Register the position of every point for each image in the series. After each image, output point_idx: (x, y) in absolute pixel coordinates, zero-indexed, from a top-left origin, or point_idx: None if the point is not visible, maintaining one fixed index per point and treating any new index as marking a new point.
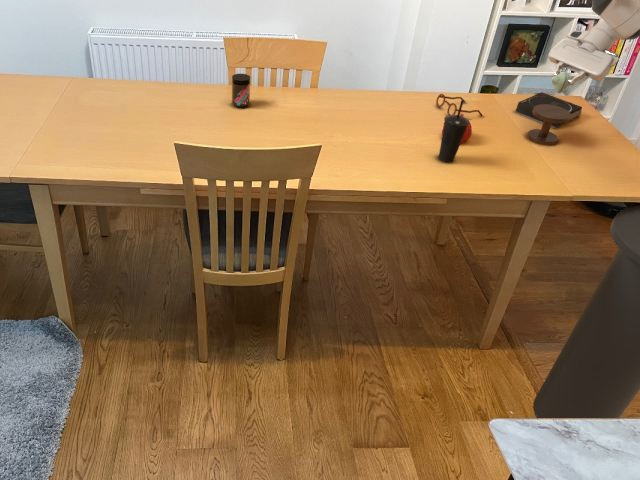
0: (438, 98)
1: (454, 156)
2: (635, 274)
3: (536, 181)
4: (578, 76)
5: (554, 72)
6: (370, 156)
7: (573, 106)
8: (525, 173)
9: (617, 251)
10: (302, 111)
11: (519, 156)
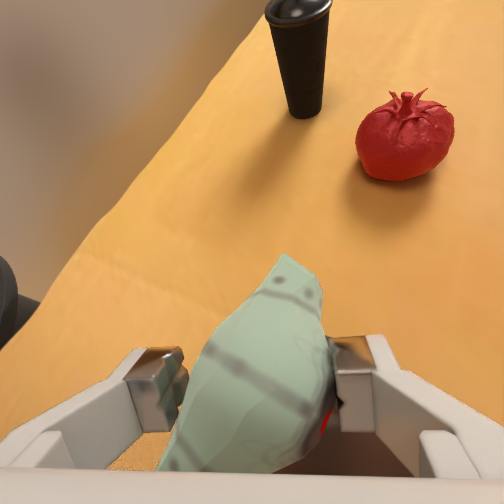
0: None
1: (287, 101)
2: None
3: (149, 217)
4: (64, 402)
5: (384, 347)
6: (362, 16)
7: None
8: (183, 217)
9: (27, 314)
10: None
11: (247, 257)
